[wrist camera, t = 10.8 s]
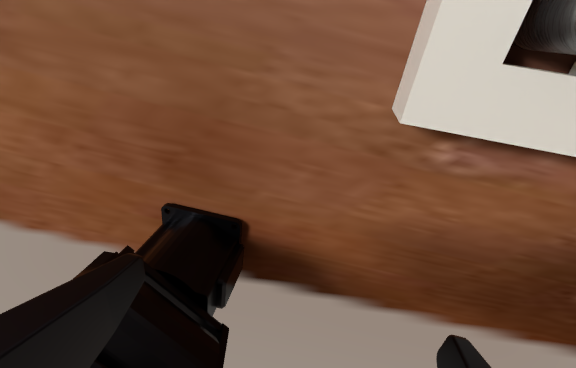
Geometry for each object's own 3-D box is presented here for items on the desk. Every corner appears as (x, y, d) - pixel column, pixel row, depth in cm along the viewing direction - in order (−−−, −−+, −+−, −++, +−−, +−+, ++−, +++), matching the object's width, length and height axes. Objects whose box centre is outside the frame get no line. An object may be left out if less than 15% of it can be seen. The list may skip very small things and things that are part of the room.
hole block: (391, 108, 17) (399, 123, 14) (480, -167, 11) (519, -226, 9) (594, 146, 16) (643, 169, 13) (795, -136, 10) (944, -190, 8)
